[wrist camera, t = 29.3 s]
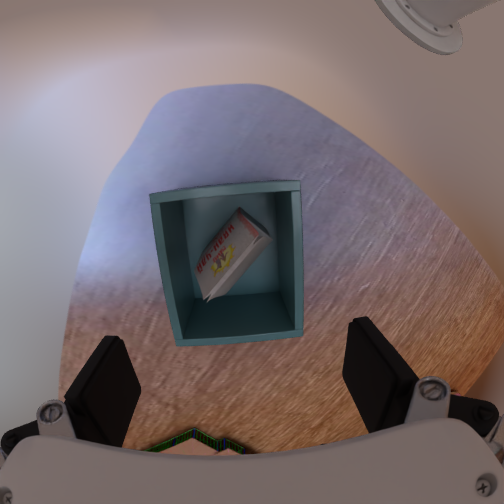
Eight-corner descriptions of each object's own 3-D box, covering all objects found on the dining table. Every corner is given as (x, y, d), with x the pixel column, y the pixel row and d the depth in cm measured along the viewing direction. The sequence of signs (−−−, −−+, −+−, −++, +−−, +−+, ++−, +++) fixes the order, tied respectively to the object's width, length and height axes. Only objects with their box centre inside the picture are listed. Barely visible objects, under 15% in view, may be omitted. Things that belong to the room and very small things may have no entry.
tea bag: (265, 227, 30) (280, 251, 20) (227, 273, 31) (224, 315, 21) (239, 206, 29) (241, 220, 19) (201, 253, 30) (186, 288, 21)
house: (286, 461, 44) (292, 491, 36) (186, 495, 48) (184, 517, 40) (205, 418, 38) (202, 456, 30) (113, 459, 42) (105, 484, 35)
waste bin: (175, 189, 29) (149, 194, 19) (279, 179, 29) (300, 180, 20) (190, 301, 33) (176, 346, 23) (285, 293, 33) (303, 336, 24)
